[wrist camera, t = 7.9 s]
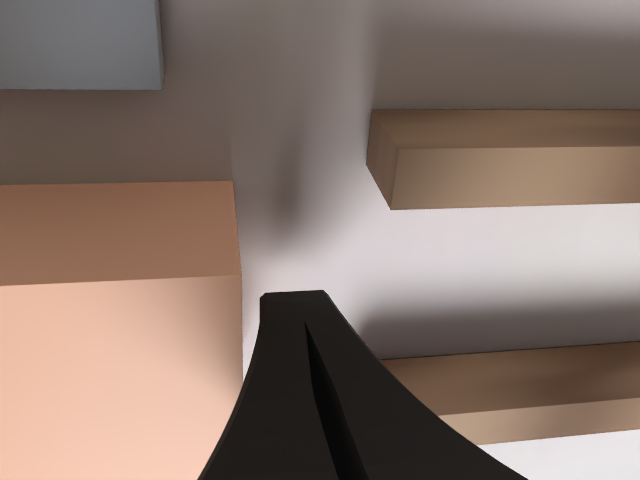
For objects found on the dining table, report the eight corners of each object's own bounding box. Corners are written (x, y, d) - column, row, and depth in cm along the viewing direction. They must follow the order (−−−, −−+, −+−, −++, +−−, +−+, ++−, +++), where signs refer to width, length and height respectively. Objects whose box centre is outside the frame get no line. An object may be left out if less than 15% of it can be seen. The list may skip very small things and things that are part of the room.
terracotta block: (232, 179, 13) (241, 275, 10) (235, 359, 15) (243, 478, 12) (-203, 187, 11) (-346, 301, 8) (-117, 383, 14) (-204, 523, 11)
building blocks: (925, 6, 13) (1033, 27, 11) (700, 417, 19) (746, 469, 18) (-246, -36, 9) (-347, -13, 8) (-39, 489, 16) (-68, 563, 14)
